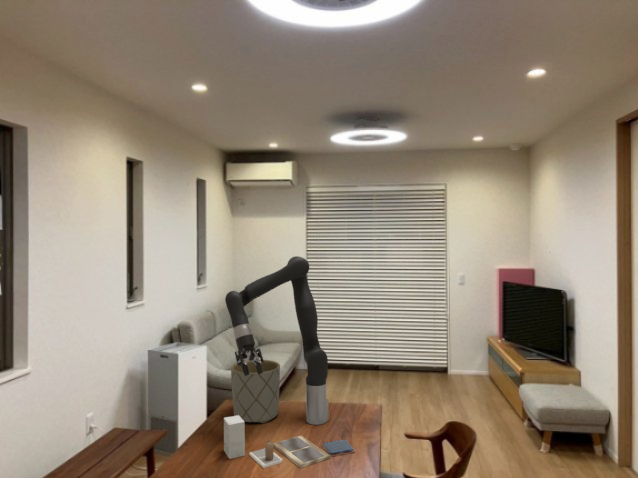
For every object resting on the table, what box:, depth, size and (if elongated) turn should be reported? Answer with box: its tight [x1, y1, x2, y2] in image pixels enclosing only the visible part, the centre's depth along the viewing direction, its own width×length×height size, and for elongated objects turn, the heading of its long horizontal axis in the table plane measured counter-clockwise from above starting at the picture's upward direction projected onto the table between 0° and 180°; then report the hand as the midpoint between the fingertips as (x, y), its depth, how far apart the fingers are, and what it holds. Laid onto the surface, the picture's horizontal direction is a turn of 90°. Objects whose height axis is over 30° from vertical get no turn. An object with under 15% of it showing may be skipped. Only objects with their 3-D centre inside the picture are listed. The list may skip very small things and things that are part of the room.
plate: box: [248, 440, 284, 469], centre depth 173 cm, size 8×12×7 cm, turn 33°
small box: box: [223, 415, 246, 460], centre depth 178 cm, size 8×6×13 cm
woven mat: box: [321, 438, 355, 457], centre depth 181 cm, size 10×11×2 cm
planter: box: [230, 359, 281, 424], centre depth 215 cm, size 23×23×24 cm
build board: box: [273, 435, 331, 469], centre depth 178 cm, size 13×21×1 cm, turn 33°
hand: (254, 374), depth 189 cm, fingers open, 8 cm apart
